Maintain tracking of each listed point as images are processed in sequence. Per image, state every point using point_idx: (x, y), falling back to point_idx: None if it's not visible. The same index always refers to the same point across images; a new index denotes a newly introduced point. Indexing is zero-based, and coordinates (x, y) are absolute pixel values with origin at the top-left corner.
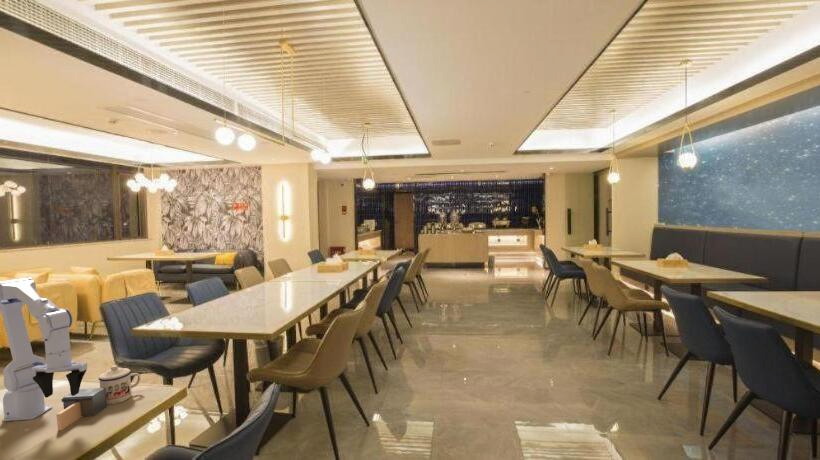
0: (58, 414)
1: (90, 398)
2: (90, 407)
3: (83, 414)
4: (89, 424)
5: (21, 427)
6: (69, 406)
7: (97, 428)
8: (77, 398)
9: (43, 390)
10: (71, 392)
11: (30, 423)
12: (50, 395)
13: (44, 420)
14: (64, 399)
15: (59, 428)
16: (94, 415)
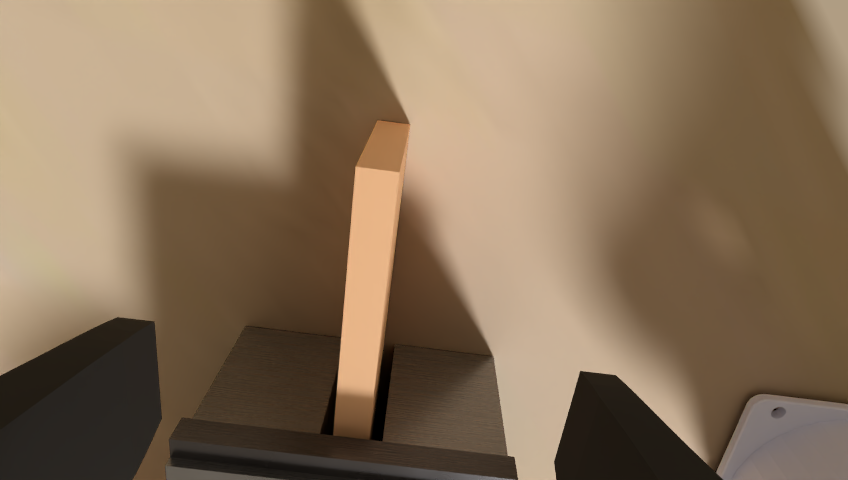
0: (376, 168)
1: (182, 432)
2: (247, 379)
3: (331, 349)
4: (181, 179)
5: (787, 279)
6: (372, 349)
7: (36, 72)
8: (332, 457)
9: (671, 459)
10: (96, 343)
11: (741, 332)
12: (564, 430)
13: (646, 356)
14: (483, 473)
15: (392, 125)
16: (243, 331)
